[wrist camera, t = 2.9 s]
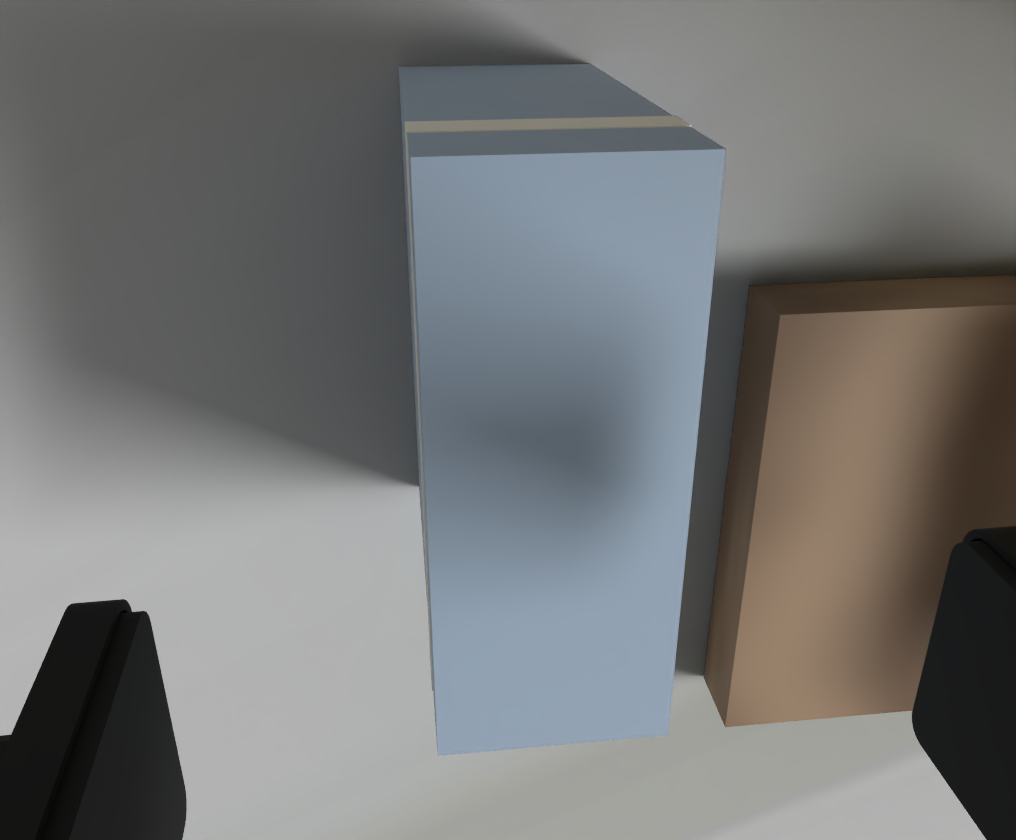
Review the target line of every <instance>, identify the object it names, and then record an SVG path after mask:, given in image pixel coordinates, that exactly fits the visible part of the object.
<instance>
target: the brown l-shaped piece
mask: <svg viewBox="0 0 1016 840" xmlns="http://www.w3.org/2000/svg"><path fill="white" fill-rule="evenodd" d="M1007 526H1016V275H992V276H967V277H942V278H917V279H892V280H867V281H842V282H817V283H792V284H767V285H749V293H748V301H747V310H746V319H745V327H744V336H743V344H742V353H741V361H740V370H739V379H738V387H737V396H736V404H735V413H734V421H733V430H732V438H731V447H730V456H729V464H728V473H727V481H726V490H725V498H724V507H723V515H722V524H721V533H720V541H719V550H718V558H717V567H716V575H715V584H714V593H713V601H712V610H711V618H710V627H709V635H708V644H707V652H706V661H705V670H704V679H705V682H706V684H707V686H708V688H709V691H710V693H711V695H712V698H713V700H714V702H715V705H716V707H717V709H718V712H719V714H720V716H721V719H722V721H723V723H724V725H725V727H731V726H742V725H754V724H765V723H776V722H787V721H799V720H810V719H821V718H833V717H844V716H855V715H866V714H878V713H889V712H900V711H912V710H913V706H914V702H915V698H916V694H917V690H918V686H919V681H920V677H921V673H922V669H923V665H924V661H925V657H926V653H927V649H928V645H929V640H930V636H931V632H932V628H933V624H934V620H935V616H936V612H937V608H938V604H939V599H940V595H941V591H942V587H943V583H944V579H945V575H946V571H947V567H948V563H949V558H950V554H951V552H952V549H953V547H954V546H955V545H956V544H958V543H961V542H963V539H964V537H965V536H966V534H967V533H968V532H969V531H972V530H974V529H982V528H995V527H1007Z"/></svg>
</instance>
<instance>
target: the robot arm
mask: <svg viewBox="0 0 1016 840" xmlns="http://www.w3.org/2000/svg"><path fill="white" fill-rule="evenodd" d="M912 724H913V728H914V732H915V735H916V737H917V739H918V741H919V743H920V745H921V746H922V748H923V749H924V750H925V752H926V753H927V755H928V756H929V758H930V759H931V761H932V762H933V763H934V765H935V766H936V768H937V769H938V771H939V772H940V773H941V775H942V776H943V778H944V779H945V781H946V782H947V783H948V785H949V786H950V788H951V789H952V791H953V792H954V794H955V795H956V796H957V798H958V799H959V801H960V802H961V804H962V805H963V806H964V808H965V809H966V811H967V812H968V814H969V815H970V816H971V818H972V819H973V821H974V822H975V824H976V825H977V827H978V828H979V829H980V831H981V832H982V834H983V835H984V837H985V838H986V839H987V840H1016V526H1007V527H995V528H982V529H974V530H972V531H969V532H968V533H967V534H966V536H965V537H964V539H963V542H961V543H958V544H956V545H955V546H954V547H953V549H952V552H951V554H950V558H949V563H948V567H947V571H946V575H945V579H944V583H943V587H942V591H941V595H940V599H939V604H938V608H937V612H936V616H935V620H934V624H933V628H932V632H931V636H930V640H929V645H928V649H927V653H926V657H925V661H924V665H923V669H922V673H921V677H920V681H919V686H918V690H917V694H916V698H915V702H914V706H913V711H912ZM185 821H186V791H185V785H184V780H183V775H182V770H181V766H180V761H179V756H178V751H177V746H176V742H175V737H174V732H173V727H172V722H171V718H170V713H169V708H168V703H167V698H166V694H165V689H164V684H163V679H162V674H161V670H160V665H159V660H158V655H157V650H156V646H155V641H154V636H153V631H152V626H151V622H150V618H149V616H148V614H147V612H145V611H140V612H132V611H131V607H130V605H129V603H128V602H127V601H126V600H124V599H122V600H110V601H98V602H86V603H74V604H71V605H69V606H68V607H67V609H66V610H65V612H64V615H63V617H62V619H61V621H60V624H59V626H58V628H57V631H56V633H55V635H54V638H53V640H52V642H51V644H50V647H49V649H48V651H47V654H46V656H45V658H44V661H43V663H42V665H41V667H40V670H39V672H38V674H37V677H36V679H35V681H34V684H33V686H32V688H31V691H30V693H29V695H28V697H27V700H26V702H25V704H24V707H23V709H22V711H21V714H20V716H19V718H18V720H17V723H16V725H15V727H14V730H13V732H12V734H11V735H4V736H0V840H182V838H183V833H184V827H185Z"/></svg>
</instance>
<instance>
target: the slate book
mask: <svg viewBox="0 0 1016 840" xmlns="http://www.w3.org/2000/svg"><path fill="white" fill-rule="evenodd" d="M399 87H400V107H401V127H402V148H403V168H404V188H405V209H406V229H407V249H408V270H409V290H410V310H411V330H412V351H413V371H414V391H415V412H416V432H417V452H418V473H419V491H420V505H421V520H422V534H423V549H424V563H425V577H426V592H427V606H428V624H429V645H430V665H431V680H432V691H433V693H434V707H435V721H436V736H437V750H438V756H440V755H451V754H462V753H473V752H485V751H496V750H507V749H518V748H529V747H540V746H552V745H563V744H574V743H585V742H596V741H607V740H619V739H630V738H641V737H652V736H663V735H668V731H669V720H670V710H671V700H672V690H673V680H674V670H675V660H676V650H677V639H678V629H679V619H680V609H681V599H682V589H683V579H684V569H685V559H686V548H687V538H688V528H689V518H690V508H691V498H692V488H693V478H694V467H695V457H696V447H697V437H698V427H699V417H700V407H701V397H702V387H703V376H704V366H705V356H706V346H707V336H708V326H709V316H710V306H711V296H712V285H713V275H714V265H715V255H716V245H717V235H718V225H719V215H720V204H721V194H722V184H723V174H724V164H725V154H726V149H725V148H723V147H722V146H720V145H719V144H717V143H715V142H714V141H712V140H711V139H709V138H707V137H706V136H704V135H703V134H701V133H699V132H698V131H696V130H695V129H693V128H692V125H691V124H689V123H687V122H686V121H684V120H683V119H681V118H679V117H678V116H672V115H671V114H669V113H668V112H666V111H665V110H663V109H661V108H660V107H658V106H657V105H655V104H653V103H652V102H650V101H649V100H647V99H646V98H644V97H642V96H641V95H639V94H638V93H636V92H634V91H633V90H631V89H630V88H628V87H626V86H625V85H623V84H622V83H620V82H619V81H617V80H615V79H614V78H612V77H611V76H609V75H607V74H606V73H604V72H603V71H601V70H599V69H598V68H596V67H595V66H593V65H592V64H545V65H480V66H416V67H399Z"/></svg>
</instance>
